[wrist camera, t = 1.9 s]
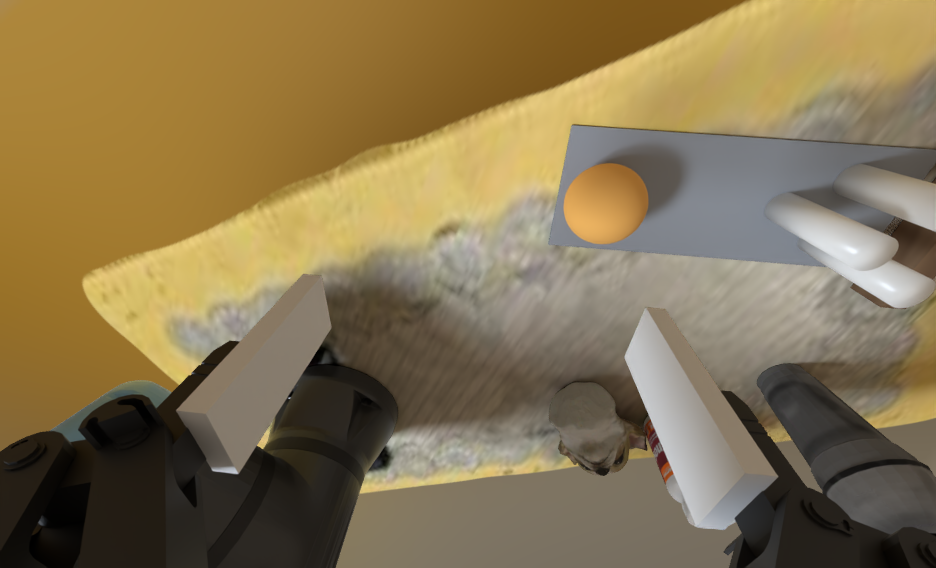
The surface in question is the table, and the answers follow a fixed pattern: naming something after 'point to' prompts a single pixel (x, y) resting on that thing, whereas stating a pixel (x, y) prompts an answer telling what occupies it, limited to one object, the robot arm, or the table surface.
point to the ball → (606, 203)
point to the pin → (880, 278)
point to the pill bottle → (666, 468)
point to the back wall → (910, 254)
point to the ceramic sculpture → (593, 428)
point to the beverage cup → (851, 454)
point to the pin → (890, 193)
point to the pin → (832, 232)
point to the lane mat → (726, 188)
